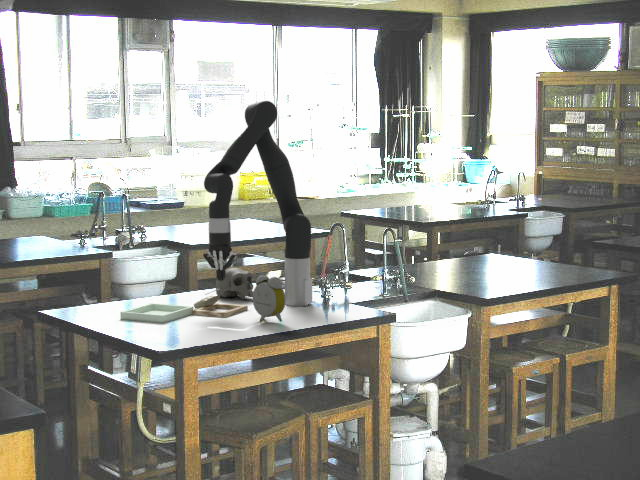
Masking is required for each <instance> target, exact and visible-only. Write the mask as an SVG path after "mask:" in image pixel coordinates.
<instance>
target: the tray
mask: <svg viewBox="0 0 640 480" xmlns="http://www.w3.org/2000/svg"><path fill="white" fill-rule="evenodd" d="M192 310H194V306H191V305H179V304H178V305H177V304H166V303H165V304H164V303H154V302H153V303H148V304H144V305H141V306H138V307H134V308H131V309H127V310H122V311H120V312H119V313H120V320H124V321H133V322H134V321H135V322H136V321H137V322H147V323H148V322H149V323H157V324H165V323H168V322H171V321H175V320H177V319H181V318H184V317H187V316H191V315H192Z"/></svg>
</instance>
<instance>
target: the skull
mask: <svg viewBox="0 0 640 480" xmlns="http://www.w3.org/2000/svg"><path fill="white" fill-rule="evenodd" d="M225 271H226V278H225V279H224V280H223V281H218V279H217V278H216V281H215V290H216V291H215V294H216V295H219V297H220V298H221V297H222V298H224V299H225V298H230V297H237V296H238V297H239V298H240V300H244V299H245V298H246V297H248V298H253V291H254V284H253V281H252V280H253V274H252V273H251V272H250V271H248V270H243V269H241V268H239V267H230V268H227V269H226V270H225ZM220 288H221V289H220ZM217 289H219V290H217Z"/></svg>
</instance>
